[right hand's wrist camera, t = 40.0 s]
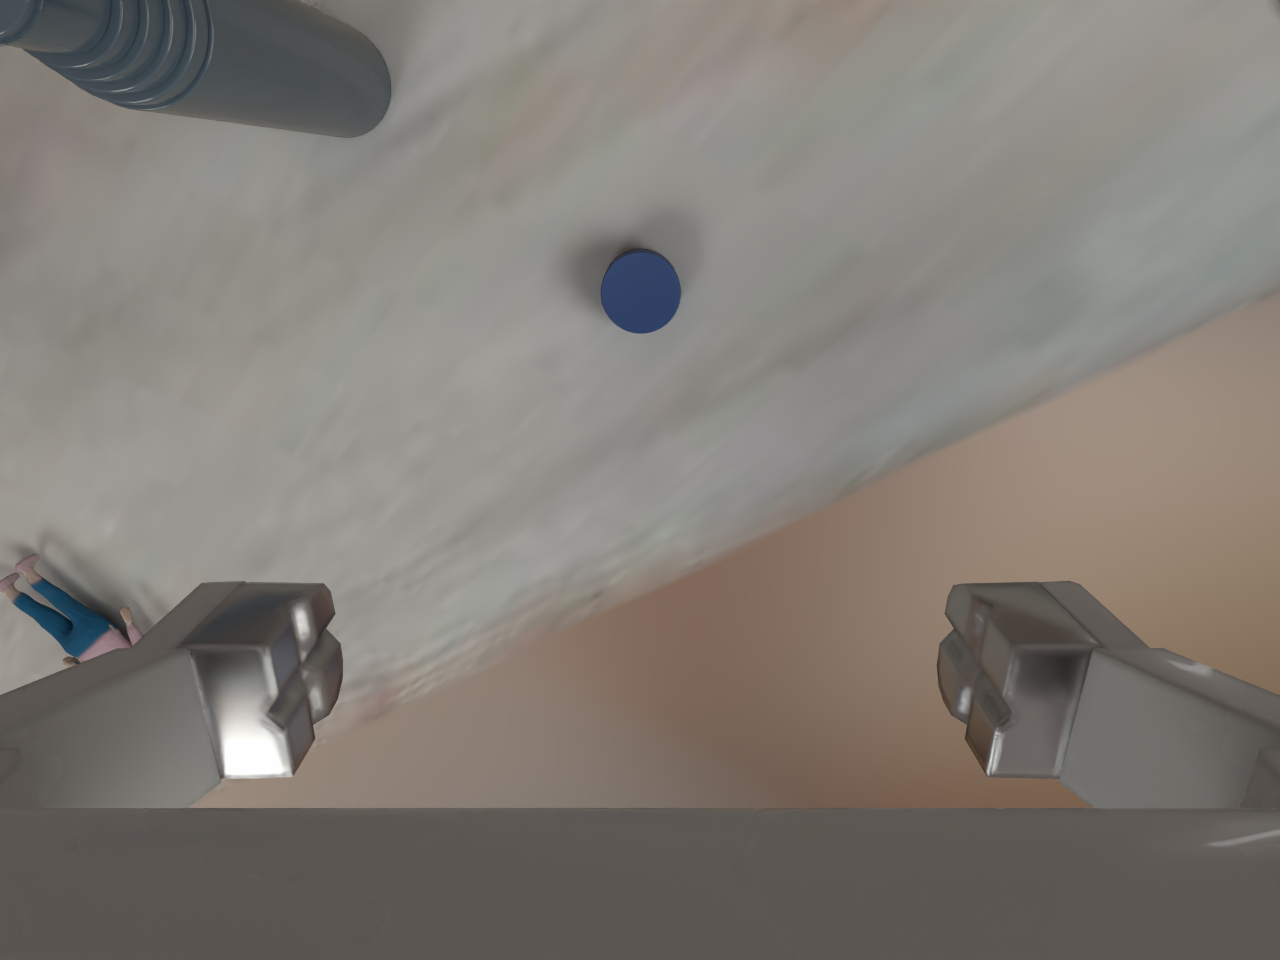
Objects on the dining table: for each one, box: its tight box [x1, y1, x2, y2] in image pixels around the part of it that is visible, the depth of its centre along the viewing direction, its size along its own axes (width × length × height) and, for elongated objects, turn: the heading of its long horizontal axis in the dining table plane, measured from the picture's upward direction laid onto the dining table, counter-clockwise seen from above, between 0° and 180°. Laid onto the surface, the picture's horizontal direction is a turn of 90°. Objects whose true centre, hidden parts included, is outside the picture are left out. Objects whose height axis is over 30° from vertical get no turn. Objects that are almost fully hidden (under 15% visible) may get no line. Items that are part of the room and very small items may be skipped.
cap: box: [601, 249, 681, 333], centre depth 40 cm, size 4×4×2 cm
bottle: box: [0, 0, 391, 138], centre depth 27 cm, size 5×5×22 cm
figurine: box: [0, 554, 142, 667], centre depth 47 cm, size 6×4×15 cm
